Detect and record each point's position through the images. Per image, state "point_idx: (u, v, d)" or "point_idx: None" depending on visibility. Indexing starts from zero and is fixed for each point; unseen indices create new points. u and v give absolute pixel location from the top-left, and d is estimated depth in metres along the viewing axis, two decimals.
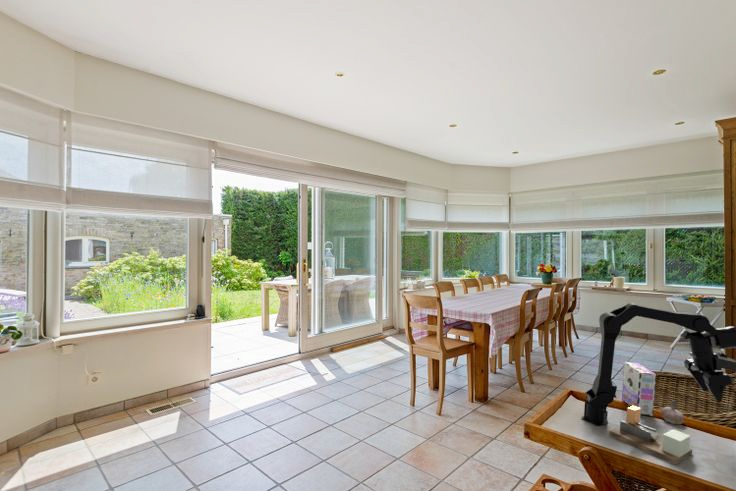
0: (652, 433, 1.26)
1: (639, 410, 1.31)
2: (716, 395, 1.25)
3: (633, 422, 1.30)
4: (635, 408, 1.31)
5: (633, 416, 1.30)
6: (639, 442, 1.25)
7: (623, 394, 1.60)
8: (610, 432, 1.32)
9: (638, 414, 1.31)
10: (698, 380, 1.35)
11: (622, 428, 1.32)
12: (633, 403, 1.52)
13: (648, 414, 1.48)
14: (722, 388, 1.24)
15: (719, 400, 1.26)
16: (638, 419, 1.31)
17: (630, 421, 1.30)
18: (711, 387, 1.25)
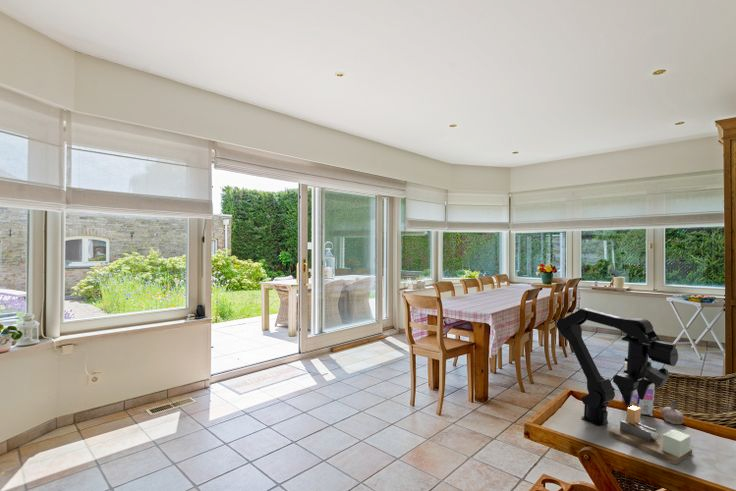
0: (652, 433, 1.26)
1: (639, 410, 1.31)
2: (624, 397, 1.29)
3: (633, 422, 1.30)
4: (635, 408, 1.31)
5: (633, 416, 1.30)
6: (639, 442, 1.25)
7: None
8: (610, 432, 1.32)
9: (638, 414, 1.31)
10: (637, 387, 1.35)
11: (622, 428, 1.32)
12: (633, 403, 1.52)
13: (648, 414, 1.48)
14: (629, 392, 1.27)
15: (627, 403, 1.28)
16: (638, 419, 1.31)
17: (630, 421, 1.30)
18: (620, 387, 1.29)
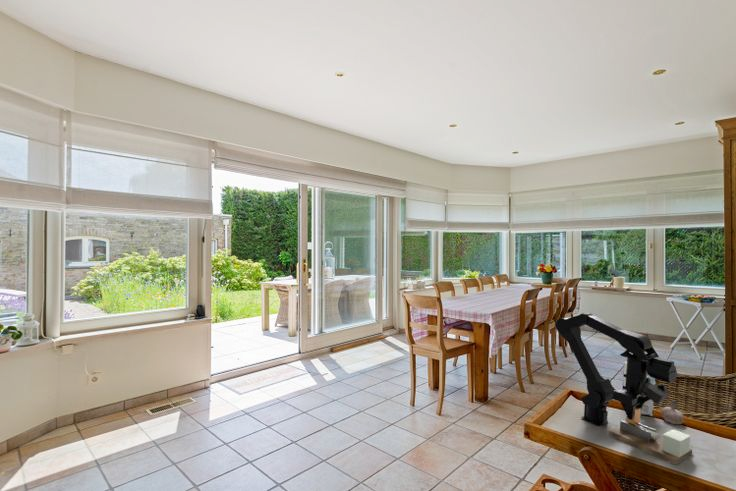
0: (652, 433, 1.26)
1: (639, 410, 1.31)
2: (626, 411, 1.30)
3: (633, 422, 1.30)
4: (635, 408, 1.31)
5: (633, 416, 1.30)
6: (639, 442, 1.25)
7: None
8: (610, 432, 1.32)
9: (638, 414, 1.31)
10: None
11: (622, 428, 1.32)
12: None
13: (648, 414, 1.48)
14: (631, 407, 1.28)
15: (629, 417, 1.30)
16: (638, 419, 1.31)
17: (630, 421, 1.30)
18: None
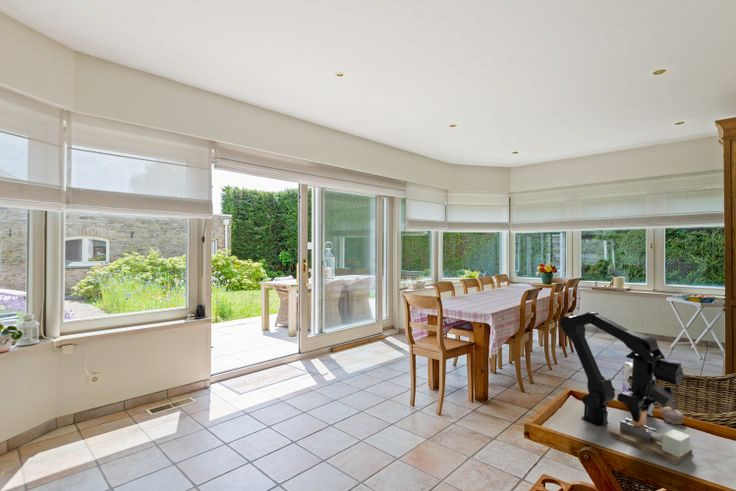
0: (658, 436, 1.24)
1: (645, 412, 1.29)
2: (632, 414, 1.29)
3: (639, 424, 1.28)
4: (641, 410, 1.29)
5: (639, 418, 1.28)
6: (639, 442, 1.25)
7: None
8: (610, 432, 1.32)
9: (644, 416, 1.29)
10: None
11: (622, 428, 1.32)
12: None
13: (648, 414, 1.48)
14: (637, 409, 1.27)
15: (635, 420, 1.28)
16: (644, 421, 1.29)
17: (636, 423, 1.29)
18: None
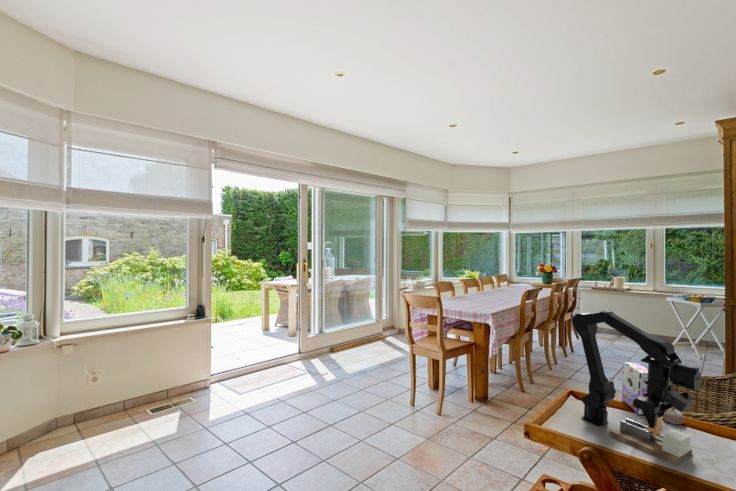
0: None
1: (661, 418, 1.25)
2: (648, 419, 1.25)
3: (655, 431, 1.24)
4: (657, 416, 1.25)
5: (655, 425, 1.24)
6: (639, 442, 1.25)
7: (623, 394, 1.60)
8: (610, 432, 1.32)
9: (660, 422, 1.25)
10: None
11: (622, 428, 1.32)
12: None
13: None
14: (653, 415, 1.23)
15: (651, 426, 1.25)
16: (660, 428, 1.25)
17: (652, 430, 1.25)
18: (643, 410, 1.25)
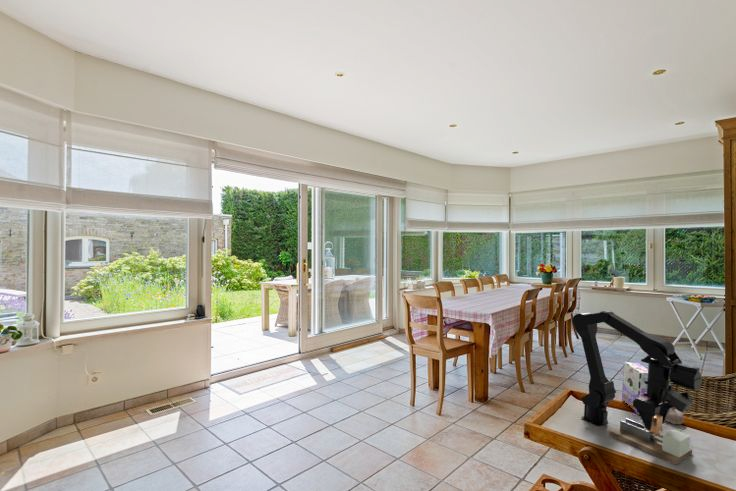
0: None
1: (661, 418, 1.25)
2: (645, 421, 1.24)
3: (655, 431, 1.24)
4: (657, 416, 1.25)
5: (655, 425, 1.24)
6: (639, 442, 1.25)
7: (623, 394, 1.60)
8: (610, 432, 1.32)
9: (660, 422, 1.25)
10: None
11: (622, 428, 1.32)
12: None
13: None
14: (650, 417, 1.22)
15: (647, 428, 1.23)
16: (660, 428, 1.25)
17: (652, 430, 1.25)
18: (640, 411, 1.24)
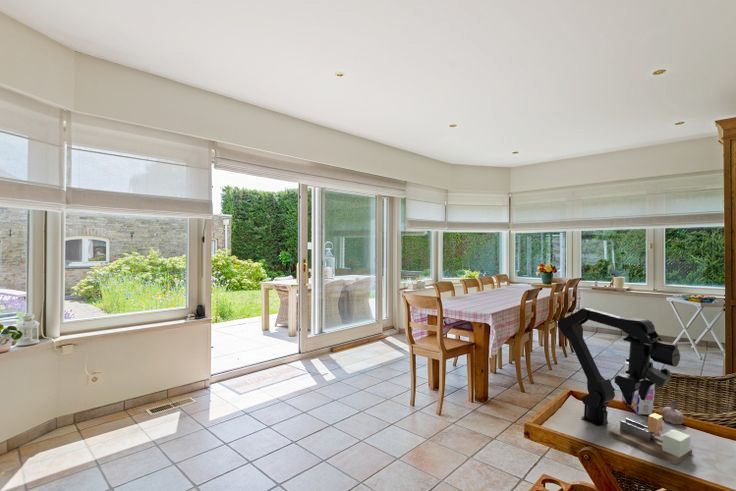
0: None
1: (661, 418, 1.25)
2: (626, 397, 1.28)
3: (655, 431, 1.24)
4: (657, 416, 1.25)
5: (655, 425, 1.24)
6: (639, 442, 1.25)
7: None
8: (610, 432, 1.32)
9: (660, 422, 1.25)
10: (639, 387, 1.34)
11: (622, 428, 1.32)
12: (633, 403, 1.52)
13: (648, 414, 1.48)
14: (631, 393, 1.26)
15: (628, 404, 1.28)
16: (660, 428, 1.25)
17: (652, 430, 1.25)
18: (621, 388, 1.29)
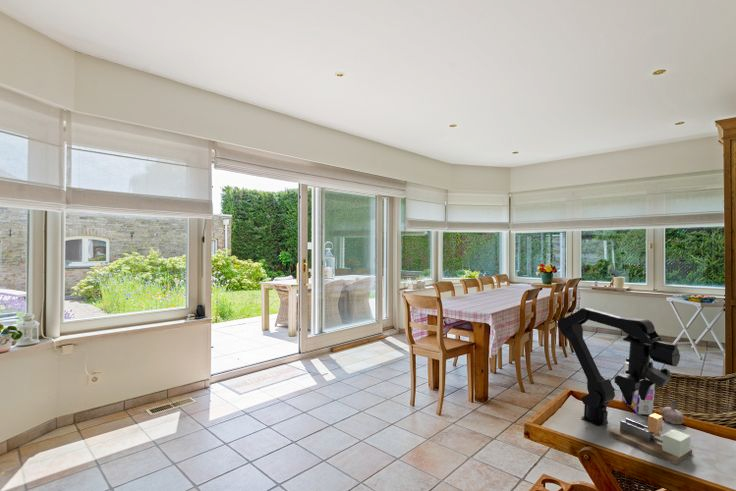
0: None
1: (661, 418, 1.25)
2: (626, 397, 1.28)
3: (655, 431, 1.24)
4: (657, 416, 1.25)
5: (655, 425, 1.24)
6: (639, 442, 1.25)
7: None
8: (610, 432, 1.32)
9: (660, 422, 1.25)
10: (639, 387, 1.34)
11: (622, 428, 1.32)
12: (633, 403, 1.52)
13: (648, 414, 1.48)
14: (631, 392, 1.26)
15: (628, 403, 1.28)
16: (660, 428, 1.25)
17: (652, 430, 1.25)
18: (621, 388, 1.29)
